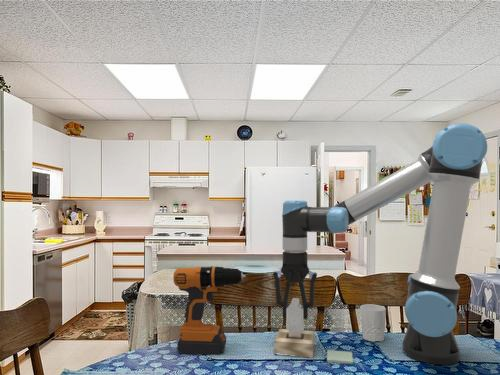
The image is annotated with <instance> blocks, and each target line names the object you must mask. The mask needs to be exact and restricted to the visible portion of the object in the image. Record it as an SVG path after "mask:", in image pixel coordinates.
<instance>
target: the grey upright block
mask: <svg viewBox="0 0 500 375" xmlns="http://www.w3.org/2000/svg"><path fill="white" fill-rule="evenodd" d="M288 306H289V339H301V340H302V331H301V307H303V304H300V297H292V299H291V302H290V303H289V305H288Z"/></svg>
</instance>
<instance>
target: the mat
mask: <svg viewBox="0 0 500 375" xmlns="http://www.w3.org/2000/svg"><path fill="white" fill-rule="evenodd" d="M326 362H327V363H336V364H348V365H354V359H353V352H352V351H343V350H332V349H327V352H326Z"/></svg>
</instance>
